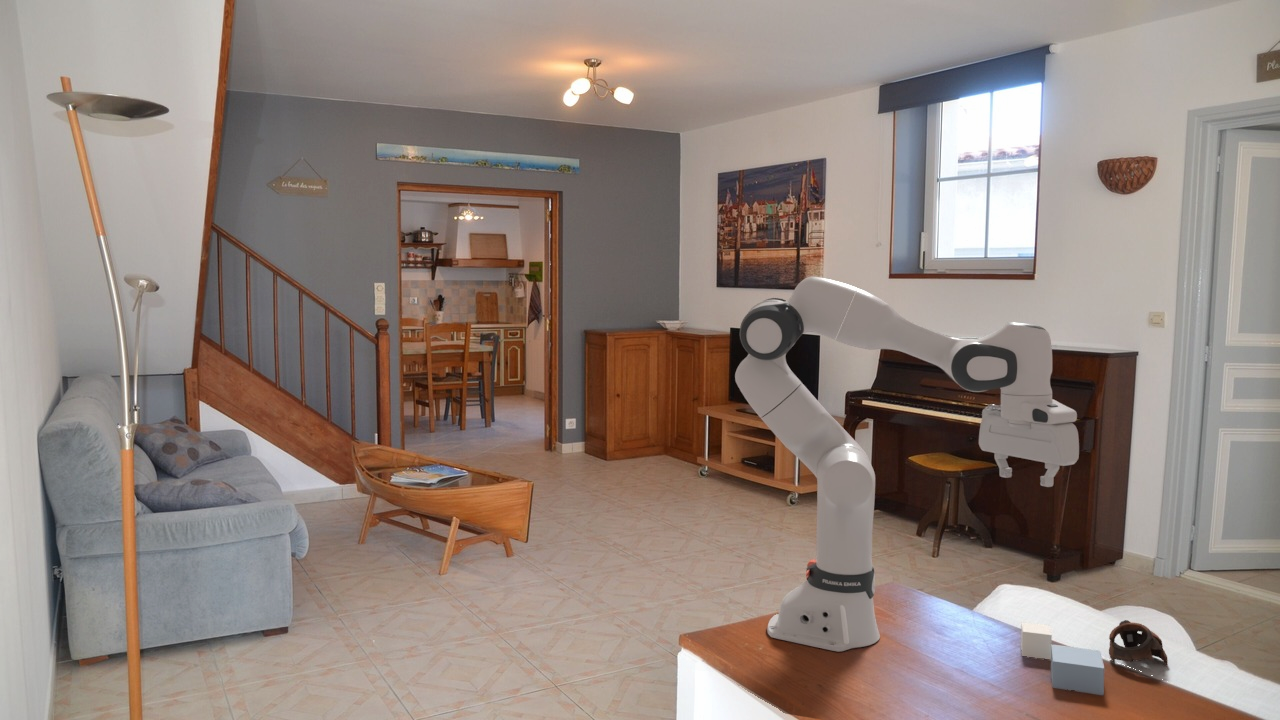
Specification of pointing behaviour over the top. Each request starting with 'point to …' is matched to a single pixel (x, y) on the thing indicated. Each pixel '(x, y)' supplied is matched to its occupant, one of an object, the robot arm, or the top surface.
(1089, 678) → the slate block
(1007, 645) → the top surface
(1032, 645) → the cream cube
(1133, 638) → the brown hollow ring shell
